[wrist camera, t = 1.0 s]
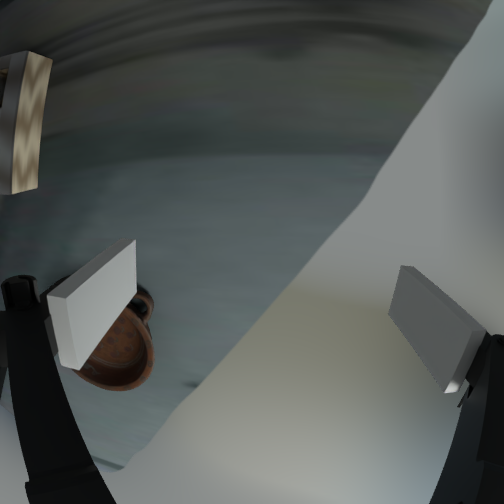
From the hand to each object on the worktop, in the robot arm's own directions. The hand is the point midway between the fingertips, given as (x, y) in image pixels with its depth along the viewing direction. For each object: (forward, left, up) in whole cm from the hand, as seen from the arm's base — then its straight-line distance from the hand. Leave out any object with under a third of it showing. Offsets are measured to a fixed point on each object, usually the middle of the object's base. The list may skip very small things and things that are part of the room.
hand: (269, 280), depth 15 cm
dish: (+23, -21, -28) cm, 42 cm away
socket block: (-8, -40, -27) cm, 49 cm away
